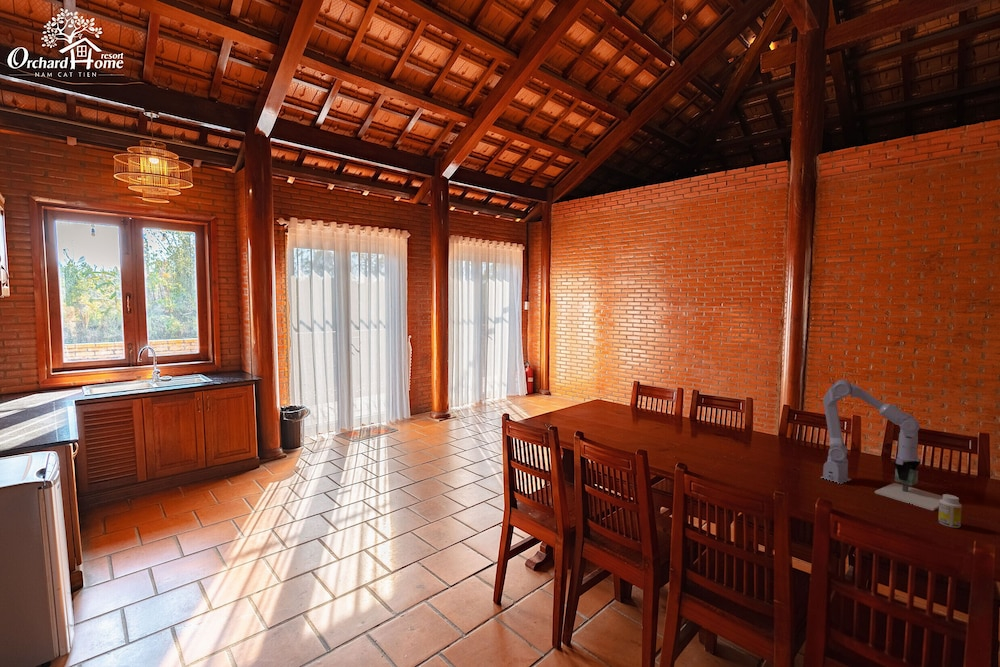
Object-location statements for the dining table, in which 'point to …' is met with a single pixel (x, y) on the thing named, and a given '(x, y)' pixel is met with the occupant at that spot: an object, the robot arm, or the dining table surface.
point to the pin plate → (911, 495)
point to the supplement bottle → (950, 511)
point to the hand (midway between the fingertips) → (906, 478)
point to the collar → (911, 477)
